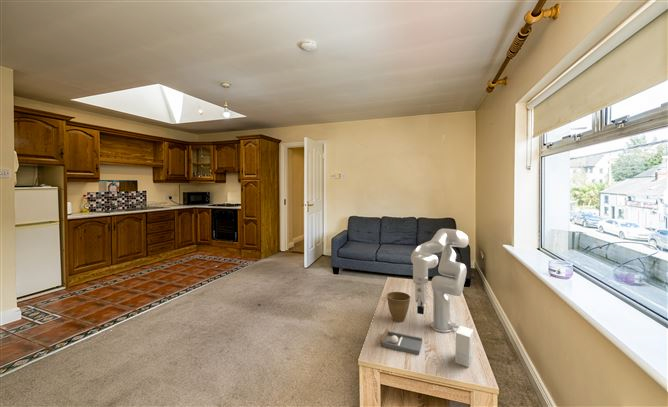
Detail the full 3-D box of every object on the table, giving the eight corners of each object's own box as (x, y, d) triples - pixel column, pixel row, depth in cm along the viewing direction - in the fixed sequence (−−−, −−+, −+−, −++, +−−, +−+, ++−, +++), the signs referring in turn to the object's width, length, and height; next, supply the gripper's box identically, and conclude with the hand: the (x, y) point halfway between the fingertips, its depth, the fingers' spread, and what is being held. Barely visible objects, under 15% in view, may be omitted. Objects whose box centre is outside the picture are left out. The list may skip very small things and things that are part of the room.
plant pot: (411, 326, 167) (411, 301, 166) (386, 324, 170) (386, 299, 169) (409, 315, 182) (409, 292, 181) (387, 313, 185) (386, 290, 184)
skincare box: (459, 354, 138) (459, 325, 137) (473, 359, 134) (473, 329, 133) (454, 363, 132) (454, 331, 131) (469, 368, 127) (469, 336, 127)
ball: (392, 341, 152) (399, 341, 150) (390, 344, 148) (397, 344, 146) (391, 333, 152) (397, 333, 150) (389, 337, 148) (396, 337, 147)
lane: (422, 341, 150) (422, 335, 150) (419, 355, 138) (419, 348, 138) (386, 334, 158) (386, 328, 158) (380, 346, 147) (380, 339, 146)
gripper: (426, 285, 134) (426, 321, 135) (429, 276, 147) (429, 308, 148) (410, 283, 137) (411, 318, 138) (415, 274, 151) (415, 306, 151)
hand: (420, 313), depth 143 cm, fingers closed
